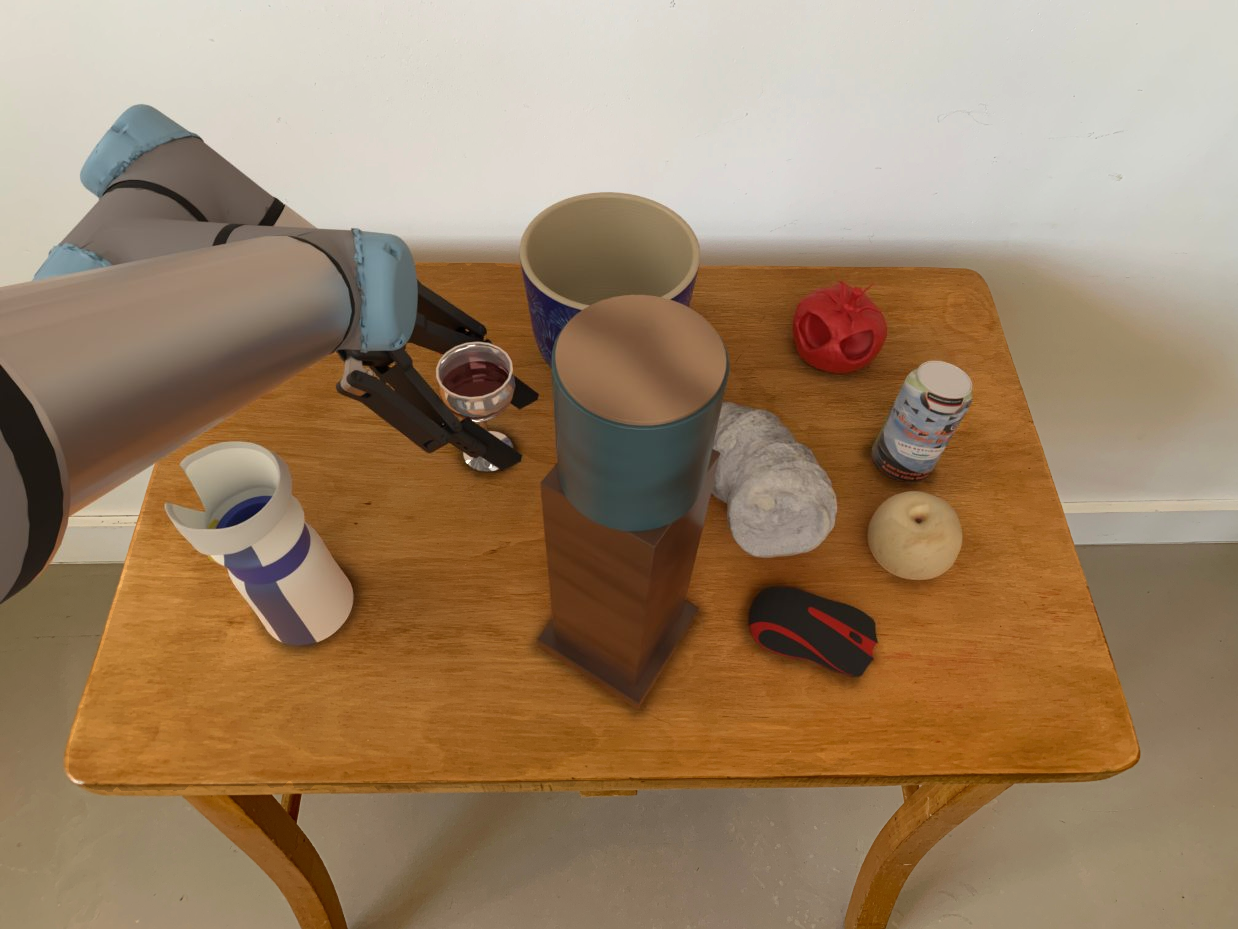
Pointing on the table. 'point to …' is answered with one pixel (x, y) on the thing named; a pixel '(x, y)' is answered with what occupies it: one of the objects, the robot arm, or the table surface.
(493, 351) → the wineglass
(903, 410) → the beverage can
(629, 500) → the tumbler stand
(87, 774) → the table surface
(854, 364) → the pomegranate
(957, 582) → the table surface
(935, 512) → the apple
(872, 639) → the computer mouse
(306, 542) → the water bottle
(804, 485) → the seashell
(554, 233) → the planter
